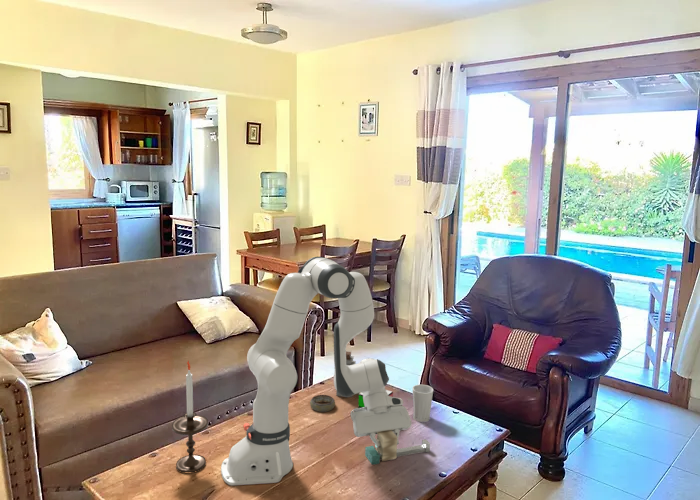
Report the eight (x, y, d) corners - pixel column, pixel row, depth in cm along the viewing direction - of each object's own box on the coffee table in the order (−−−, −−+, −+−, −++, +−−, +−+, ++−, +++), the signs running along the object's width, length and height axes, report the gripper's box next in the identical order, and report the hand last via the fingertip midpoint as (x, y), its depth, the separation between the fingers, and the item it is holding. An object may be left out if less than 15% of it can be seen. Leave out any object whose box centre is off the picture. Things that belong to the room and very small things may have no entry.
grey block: (336, 395, 219) (337, 355, 216) (339, 389, 225) (340, 349, 222) (352, 397, 217) (353, 356, 215) (354, 390, 224) (356, 350, 221)
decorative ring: (337, 403, 212) (313, 400, 214) (337, 395, 212) (314, 392, 214) (331, 414, 203) (306, 411, 205) (331, 406, 202) (307, 403, 204)
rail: (371, 464, 169) (372, 456, 168) (365, 455, 174) (365, 446, 174) (431, 454, 176) (432, 445, 176) (423, 445, 182) (424, 437, 181)
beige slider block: (382, 461, 171) (383, 439, 169) (376, 453, 175) (377, 432, 174) (396, 458, 172) (397, 437, 171) (390, 450, 177) (391, 429, 176)
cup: (431, 424, 197) (432, 394, 195) (410, 421, 198) (411, 392, 196) (432, 414, 205) (433, 385, 203) (411, 412, 206) (413, 383, 204)
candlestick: (171, 459, 169) (168, 356, 163) (206, 452, 173) (204, 352, 167) (174, 477, 159) (171, 369, 153) (211, 470, 163) (209, 365, 157)
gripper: (351, 406, 174) (361, 448, 167) (406, 398, 181) (418, 438, 174) (346, 412, 179) (355, 453, 172) (400, 404, 186) (411, 444, 178)
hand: (387, 445), depth 173 cm, fingers closed on beige slider block, 5 cm apart
